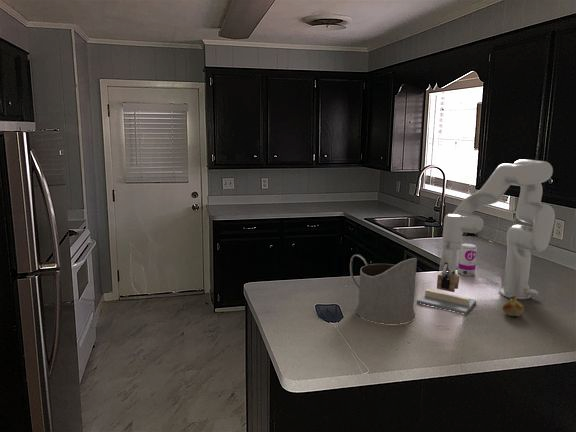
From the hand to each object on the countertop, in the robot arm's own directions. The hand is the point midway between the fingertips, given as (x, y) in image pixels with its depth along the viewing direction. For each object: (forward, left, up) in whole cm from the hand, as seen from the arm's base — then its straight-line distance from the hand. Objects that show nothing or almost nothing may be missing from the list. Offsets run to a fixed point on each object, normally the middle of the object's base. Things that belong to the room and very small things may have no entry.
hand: (447, 285), depth 198 cm
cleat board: (0, 0, -8) cm, 8 cm away
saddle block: (0, 0, -1) cm, 1 cm away
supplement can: (+5, -48, -8) cm, 49 cm away
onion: (-25, -3, -8) cm, 26 cm away
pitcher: (+20, +25, -8) cm, 33 cm away
